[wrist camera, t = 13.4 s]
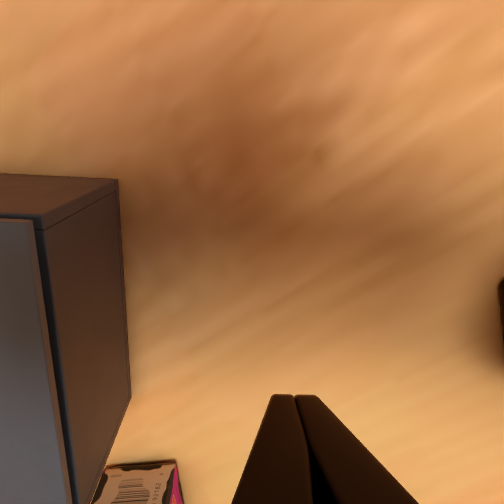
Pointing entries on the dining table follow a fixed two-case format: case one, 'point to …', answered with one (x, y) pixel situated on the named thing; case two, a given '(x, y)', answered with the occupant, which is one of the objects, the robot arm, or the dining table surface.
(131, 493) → the candy bar box
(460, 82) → the dining table surface
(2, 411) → the flap
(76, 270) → the carton
